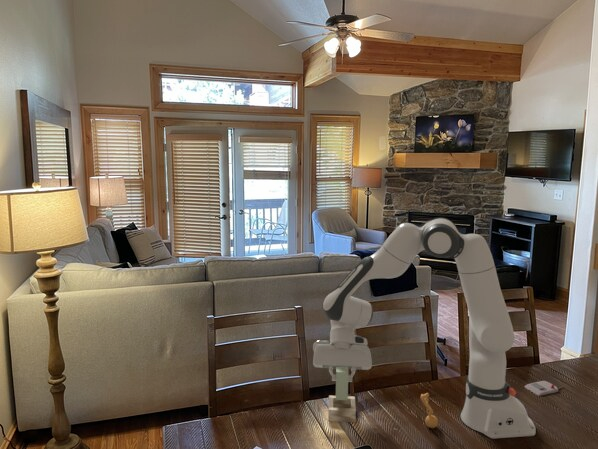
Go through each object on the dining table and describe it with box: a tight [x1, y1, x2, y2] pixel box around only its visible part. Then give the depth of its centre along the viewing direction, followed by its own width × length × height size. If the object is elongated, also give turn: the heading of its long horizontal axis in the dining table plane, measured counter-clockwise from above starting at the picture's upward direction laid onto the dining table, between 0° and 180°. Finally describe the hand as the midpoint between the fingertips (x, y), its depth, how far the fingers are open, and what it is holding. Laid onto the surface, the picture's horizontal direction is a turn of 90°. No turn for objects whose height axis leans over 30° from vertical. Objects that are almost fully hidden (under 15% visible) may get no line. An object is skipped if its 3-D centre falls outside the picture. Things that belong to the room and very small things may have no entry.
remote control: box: [524, 380, 564, 397], centre depth 167 cm, size 7×16×3 cm, turn 109°
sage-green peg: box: [335, 366, 349, 400], centre depth 149 cm, size 4×4×10 cm
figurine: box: [419, 392, 439, 429], centre depth 142 cm, size 8×6×12 cm
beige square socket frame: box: [327, 394, 357, 423], centre depth 150 cm, size 9×9×4 cm
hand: (342, 381), depth 149 cm, fingers closed on sage-green peg, 4 cm apart
